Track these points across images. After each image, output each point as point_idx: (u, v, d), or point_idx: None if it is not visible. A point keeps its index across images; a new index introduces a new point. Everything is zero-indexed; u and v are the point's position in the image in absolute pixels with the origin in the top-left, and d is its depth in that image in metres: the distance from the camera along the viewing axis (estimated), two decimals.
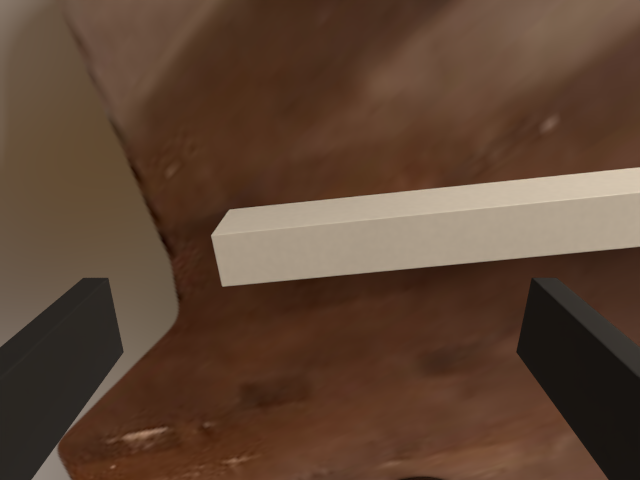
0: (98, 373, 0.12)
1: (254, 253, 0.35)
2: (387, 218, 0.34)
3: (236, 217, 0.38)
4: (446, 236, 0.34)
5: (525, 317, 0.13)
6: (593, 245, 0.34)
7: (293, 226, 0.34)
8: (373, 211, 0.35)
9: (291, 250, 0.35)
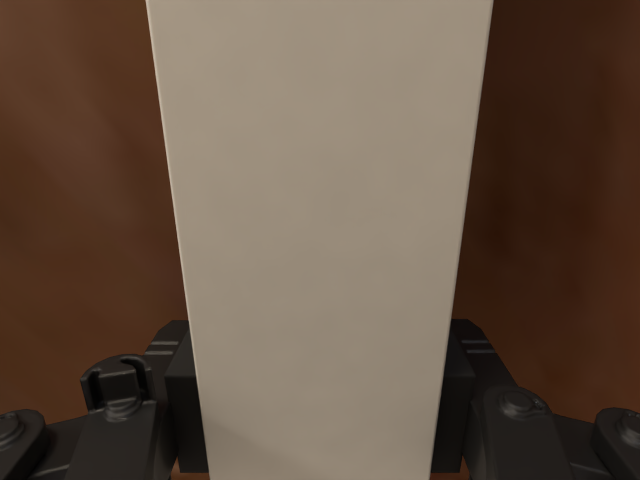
0: None
1: None
2: None
3: None
4: None
5: None
6: None
7: None
8: None
9: (299, 367, 0.08)
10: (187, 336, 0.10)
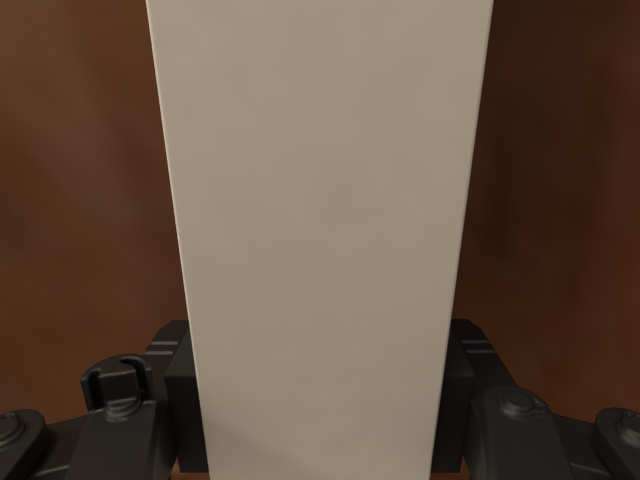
0: None
1: None
2: None
3: None
4: None
5: None
6: None
7: None
8: None
9: (299, 367, 0.08)
10: (187, 336, 0.10)
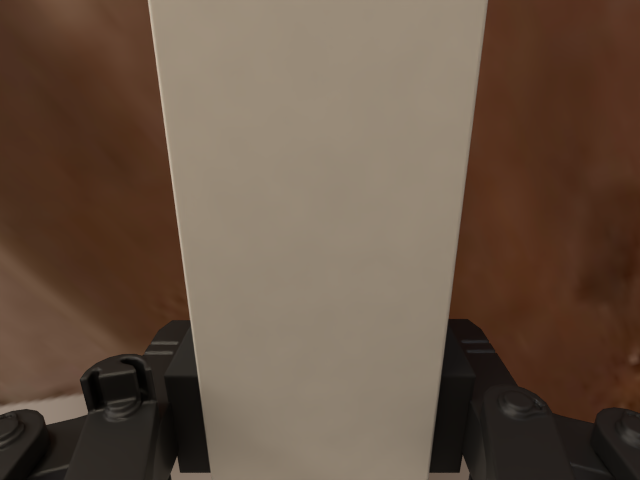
0: None
1: (303, 478, 0.09)
2: None
3: None
4: None
5: None
6: None
7: None
8: None
9: (299, 362, 0.08)
10: (187, 336, 0.10)
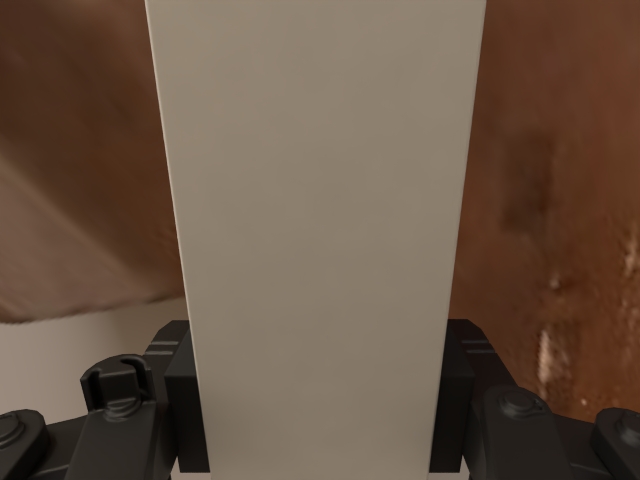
0: None
1: (303, 478, 0.09)
2: None
3: None
4: None
5: None
6: None
7: None
8: None
9: (298, 362, 0.08)
10: (187, 336, 0.10)
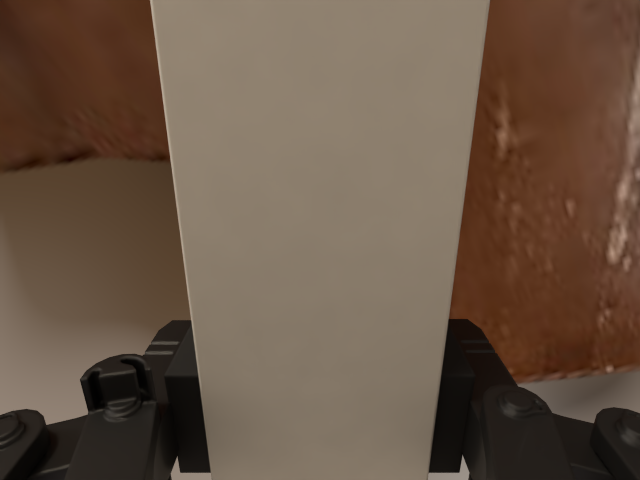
0: None
1: (303, 477, 0.09)
2: None
3: None
4: None
5: None
6: None
7: None
8: None
9: (299, 361, 0.08)
10: (187, 336, 0.10)
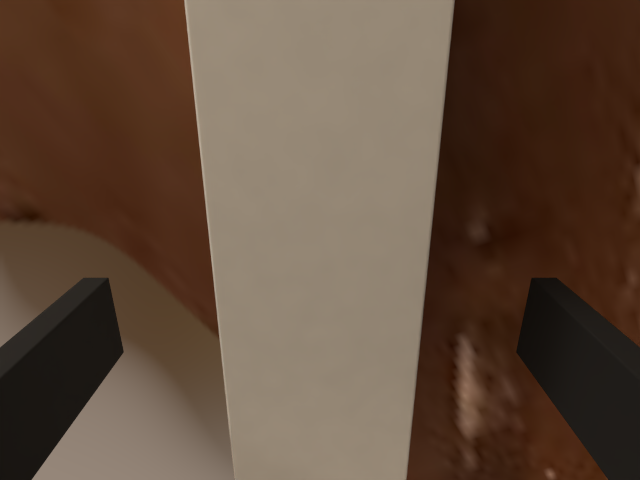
0: (98, 373, 0.12)
1: (306, 413, 0.11)
2: None
3: None
4: None
5: (525, 317, 0.13)
6: None
7: None
8: None
9: (303, 309, 0.10)
10: None
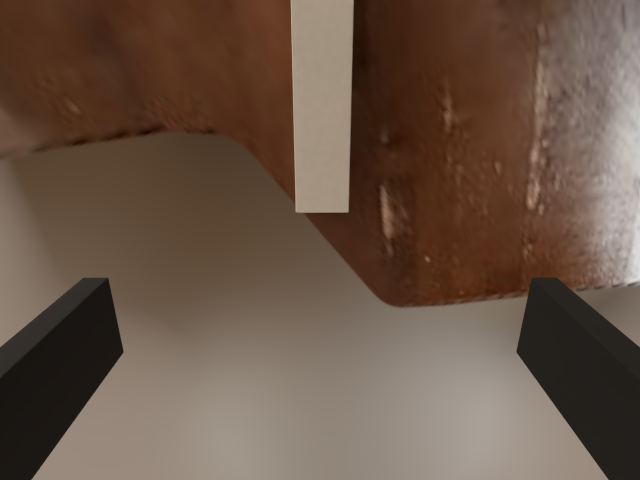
0: (98, 373, 0.12)
1: (318, 176, 0.37)
2: (292, 34, 0.32)
3: None
4: None
5: (525, 317, 0.13)
6: None
7: (294, 135, 0.35)
8: None
9: (317, 140, 0.35)
10: None
